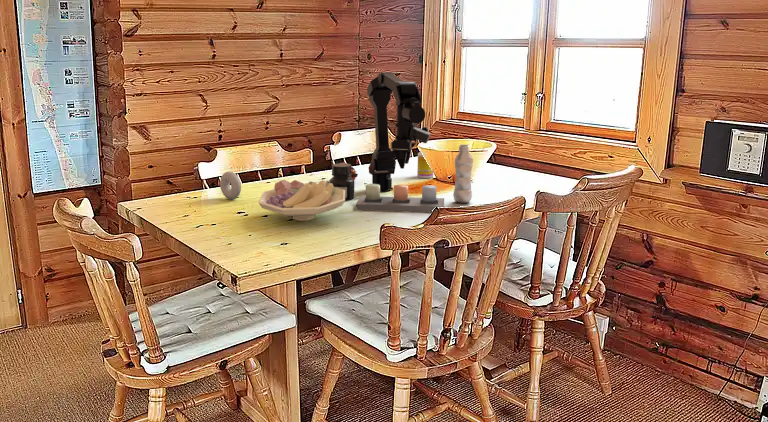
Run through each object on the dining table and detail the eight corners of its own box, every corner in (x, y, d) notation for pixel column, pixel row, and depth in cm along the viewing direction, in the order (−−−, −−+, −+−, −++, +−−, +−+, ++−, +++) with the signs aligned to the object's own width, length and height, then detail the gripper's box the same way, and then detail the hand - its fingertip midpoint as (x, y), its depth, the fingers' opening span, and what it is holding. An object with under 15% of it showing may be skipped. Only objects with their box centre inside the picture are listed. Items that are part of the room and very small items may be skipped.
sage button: (364, 199, 228) (364, 186, 227) (366, 196, 233) (366, 183, 232) (379, 199, 228) (379, 187, 227) (380, 196, 232) (380, 184, 231)
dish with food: (311, 235, 197) (310, 187, 193) (239, 221, 211) (237, 176, 207) (364, 214, 220) (364, 171, 216) (296, 203, 234) (295, 162, 230)
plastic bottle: (473, 201, 239) (475, 144, 234) (469, 205, 233) (471, 147, 228) (455, 199, 241) (457, 143, 236) (451, 203, 235) (452, 146, 230)
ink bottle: (323, 198, 242) (322, 164, 239) (341, 194, 248) (341, 161, 245) (342, 202, 236) (342, 168, 233) (360, 198, 242) (360, 165, 239)
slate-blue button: (421, 201, 226) (421, 188, 225) (422, 197, 231) (422, 185, 230) (436, 201, 226) (436, 188, 225) (436, 198, 231) (436, 185, 229)
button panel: (355, 210, 226) (355, 204, 225) (360, 201, 237) (360, 195, 237) (443, 212, 223) (443, 206, 222) (444, 203, 234) (444, 198, 234)
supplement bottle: (434, 178, 276) (434, 147, 272) (417, 178, 276) (418, 147, 272) (433, 175, 282) (433, 144, 279) (417, 175, 282) (417, 144, 279)
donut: (243, 200, 237) (242, 172, 235) (235, 202, 235) (234, 174, 232) (226, 196, 244) (225, 168, 241) (218, 198, 241) (217, 170, 239)
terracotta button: (393, 200, 227) (393, 187, 226) (394, 197, 232) (394, 184, 231) (407, 200, 227) (407, 187, 226) (408, 197, 231) (408, 184, 230)
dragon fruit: (335, 183, 274) (354, 192, 266) (323, 173, 267) (342, 182, 259) (346, 165, 275) (366, 174, 267) (334, 155, 268) (354, 164, 260)
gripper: (425, 124, 217) (424, 172, 221) (432, 117, 235) (431, 162, 239) (391, 123, 219) (390, 170, 223) (400, 116, 237) (400, 160, 241)
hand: (404, 166), depth 232 cm, fingers open, 9 cm apart
